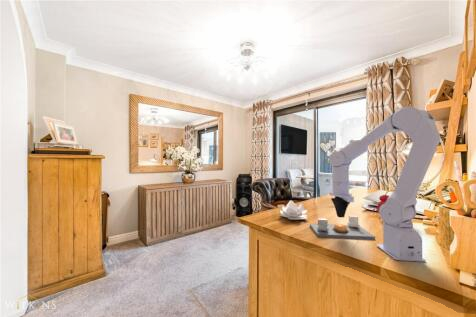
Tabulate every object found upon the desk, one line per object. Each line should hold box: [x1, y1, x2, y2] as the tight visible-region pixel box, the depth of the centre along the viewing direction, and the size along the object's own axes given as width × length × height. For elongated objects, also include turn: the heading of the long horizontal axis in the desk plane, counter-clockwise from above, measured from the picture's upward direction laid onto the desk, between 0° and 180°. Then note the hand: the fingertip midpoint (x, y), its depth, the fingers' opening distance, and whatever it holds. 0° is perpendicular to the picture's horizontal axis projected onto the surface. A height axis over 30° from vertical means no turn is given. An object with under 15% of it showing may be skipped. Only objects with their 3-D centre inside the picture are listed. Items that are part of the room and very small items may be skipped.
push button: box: [333, 223, 347, 232], centre depth 76 cm, size 4×4×2 cm
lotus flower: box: [279, 199, 309, 220], centre depth 96 cm, size 14×15×9 cm
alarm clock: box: [376, 190, 390, 220], centre depth 91 cm, size 10×6×15 cm, turn 79°
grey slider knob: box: [317, 218, 329, 231], centre depth 76 cm, size 2×4×4 cm, turn 83°
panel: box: [309, 223, 376, 240], centre depth 77 cm, size 12×20×1 cm, turn 83°
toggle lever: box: [347, 215, 361, 227], centre depth 81 cm, size 2×4×4 cm, turn 83°
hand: (340, 216), depth 76 cm, fingers closed
